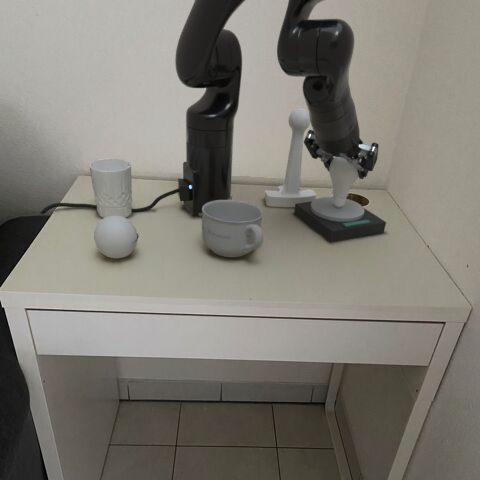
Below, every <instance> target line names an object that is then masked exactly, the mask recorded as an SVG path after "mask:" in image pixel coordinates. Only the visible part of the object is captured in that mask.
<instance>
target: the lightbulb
mask: <svg viewBox="0 0 480 480" xmlns="http://www.w3.org/2000/svg"><path fill="white" fill-rule="evenodd" d="M352 158H353V157H352ZM328 172H329V176H330V180H331V182H332V197H333V202H332V203H333V205H334V206H335V207H337V208H340V207H342V206H344V205H345V201H346V197H347V198H348V196H349V193H350V190H351V188H352V186H353V185H354V183H356V181H357V179H359V175H358V170H357V168H356V167H355V166H354V165H350V164H349V163H348V162H347V160H346V159H344V158H341V157H335V156H334V159H333V160H332V162H331V163H330V166H329V171H328Z"/></svg>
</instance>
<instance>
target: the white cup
mask: <svg viewBox="0 0 480 480" xmlns="http://www.w3.org/2000/svg"><path fill="white" fill-rule="evenodd" d="M88 167H89V168H88V169H89V173H90V178H91V185H92V189H93V190H92V191H93V193H94V195H93V196H94V200H95V203H96V204H95V205H97V209H96V211H97V214H98V216H99V217H101V218H102V219H103V218H105V217H108V216H112V215H117V216H122V217H125V218H126V219H127V218H128V217H130V216H131V215H132V213H133V212H132V209H133V208H132V205H133V204H132V202H133V183H132V182H133V179H132V177H133V176H132V164H131V162H130V161H128V160H126V159H123V158H117V157H115V158H114V157H107V158H99V159H95V160H93V161H91V162H90V163H89V164H88Z"/></svg>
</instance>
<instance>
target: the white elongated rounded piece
mask: <svg viewBox="0 0 480 480" xmlns="http://www.w3.org/2000/svg"><path fill="white" fill-rule="evenodd" d="M138 239H139V233H138V231H137V228H136V226H135V225H134V224H133V222H132V221H131V220H129V219H128V218H127V217H126V218H125V217H122V216H117V215H112V216H108V217H105V218H103V217H102V219H101V220H100V221H99V222H98V223H97V224H96V226H95V228H94V231H93V240H94V243H95V247H96V248H97V249H98V251H99V252H100V253H101V254H102V255H104V256H106V257H107V258H111V259H123V258H126V257H128V256H129V255H130V254H132V253H133V252H134V251H135V248H136V247H137V245H138Z"/></svg>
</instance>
